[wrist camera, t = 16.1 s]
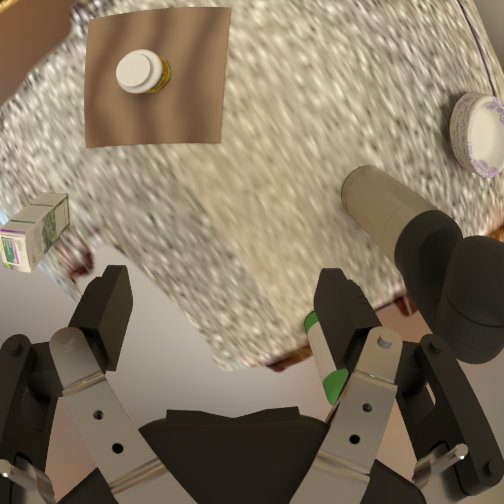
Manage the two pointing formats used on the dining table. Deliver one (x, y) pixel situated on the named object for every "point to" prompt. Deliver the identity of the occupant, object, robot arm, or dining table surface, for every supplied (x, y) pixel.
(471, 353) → the robot arm
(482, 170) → the paper bowls
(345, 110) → the dining table surface
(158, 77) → the supplement bottle
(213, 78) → the walnut board
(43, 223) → the syrup box
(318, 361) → the wine bottle
